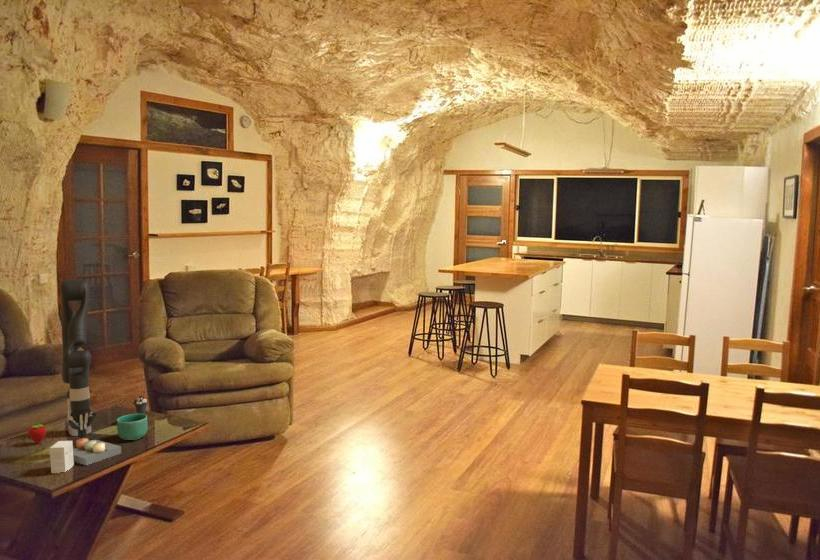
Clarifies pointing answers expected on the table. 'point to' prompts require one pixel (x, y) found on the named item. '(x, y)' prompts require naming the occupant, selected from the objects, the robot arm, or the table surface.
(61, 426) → the table surface
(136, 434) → the mug
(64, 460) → the small box
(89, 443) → the button sage
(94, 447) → the button cream
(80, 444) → the button terracotta
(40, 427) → the strawberry
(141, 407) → the sundae
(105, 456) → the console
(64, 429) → the table surface
